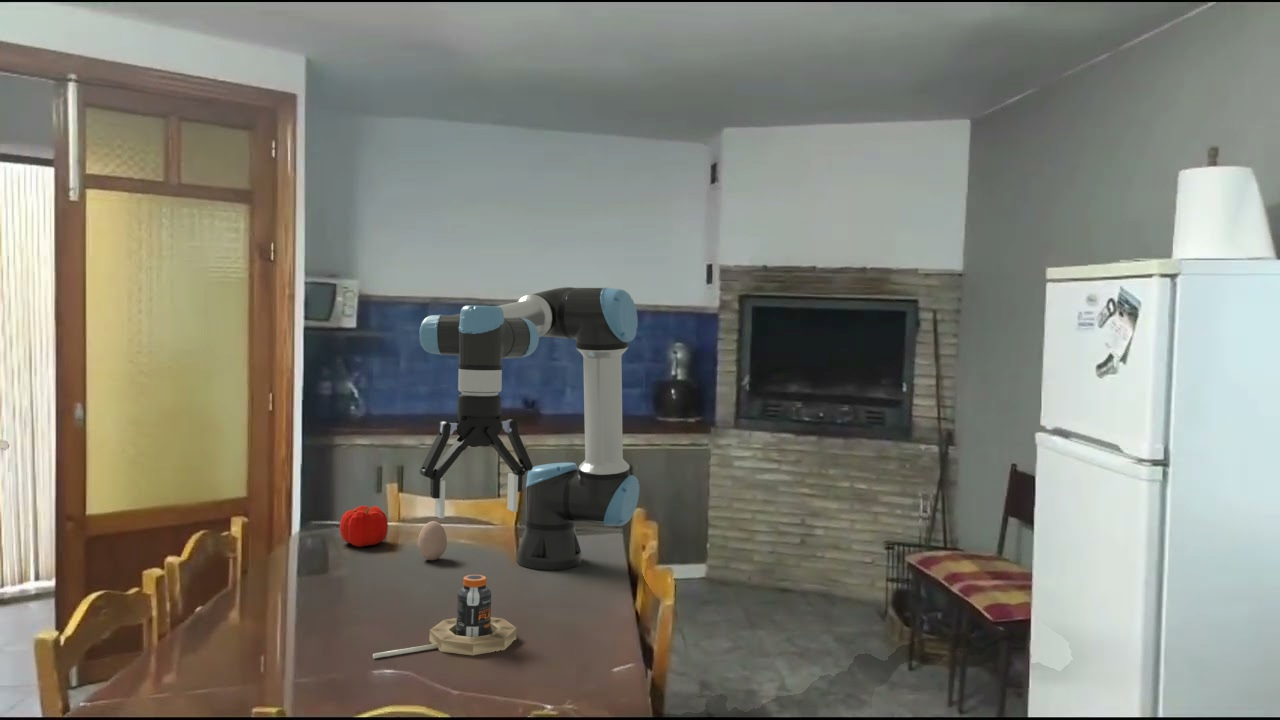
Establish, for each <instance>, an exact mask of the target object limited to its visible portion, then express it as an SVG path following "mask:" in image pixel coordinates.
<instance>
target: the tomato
mask: <svg viewBox="0 0 1280 720" xmlns="http://www.w3.org/2000/svg"><path fill="white" fill-rule="evenodd" d="M388 526H389V523H388V518H387V515H386V513H385V512H384V511H383V510H382V509H381V508H380V507H379V506H376V505H374V506H370V507H369V506H367V505H360V506H358V507H355V508H354V509H353V510H352V509H350V510H347V511H345V513H344V514H343V515H342V517H341V519H340V522H339V533H340V536H341V537H342V539H343V540H344V541H345V542H347V543H348V544H351V545H352V546H354V547H357V548H362V547H363V548H364V547H366V546H369V547H372V546H375V545H377V544H380V543H381V542H382V541H384V540H385V538H386V536H387V534H388ZM371 545H372V546H371Z"/></svg>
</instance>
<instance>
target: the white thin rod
mask: <svg viewBox="0 0 1280 720" xmlns="http://www.w3.org/2000/svg"><path fill="white" fill-rule="evenodd" d="M435 649H438V644H432V643H431V644H425V645H419V646H413V647H406V648H400V649H392V650H389V651H388V650H387V651H383V652H382V651H381V652H376V653H372V658H373V659H374V660H375V659H379V658H380V659H381V658H387V657H392V656H399V655H403V654H410V653H416V652H422V651H430V650H435Z"/></svg>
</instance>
